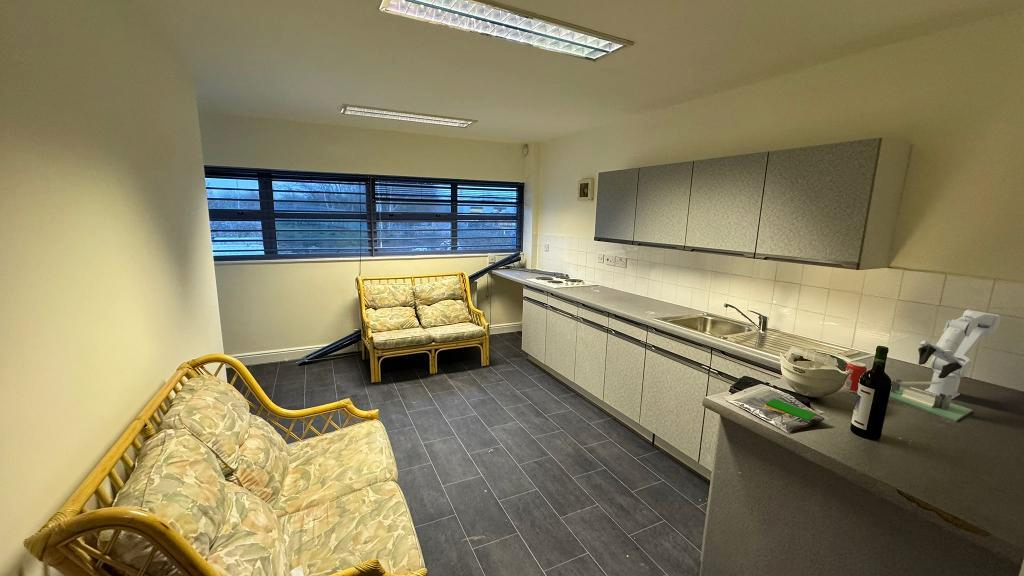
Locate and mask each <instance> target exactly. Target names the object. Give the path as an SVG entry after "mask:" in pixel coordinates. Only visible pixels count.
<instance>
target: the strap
mask: <svg viewBox="0 0 1024 576" xmlns="http://www.w3.org/2000/svg"><path fill="white" fill-rule="evenodd" d="M944 383H945V382H931V381H902V382H898V383H897V385H901V386H902V385H903V386H905V385H915V386H916V385H931V384H944Z"/></svg>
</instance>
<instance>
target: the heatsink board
mask: <svg viewBox="0 0 1024 576" xmlns="http://www.w3.org/2000/svg"><path fill="white" fill-rule="evenodd" d="M898 382H903V380H902V379H900V378H896V380H892V381H891V384H892V389H891V394H890V398H889V399H890V400H894V401H896V402H899V403H901V404H904V405H907V406H910V407H913V408H916V409H919V410H921V411H924V412H927V413H930V412H931V413H930V414H932V415H935V414H936V415H935V416H938V415H939V417H941V418H944V419H947V420H950V421H952V420H953V422H958V421H959V420H960V419H962V418H964V417H965V416H967V415H969V414H970V413H971V412H972V411H973V409H971V408H967V407H965V406H962V405H960V404H959V405H958V404H955V403H953V402H951V401H952V400H953V399H952V395H948V396H946V395H945V394H942V393H940V395H936V394H933V393H930V392H927V391H925V390H922V389H919V388H915V387H912V386H910V387H908V388H906V387H905V386H904V387H903V386H902V385H897V383H898Z"/></svg>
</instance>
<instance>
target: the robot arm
mask: <svg viewBox="0 0 1024 576" xmlns="http://www.w3.org/2000/svg"><path fill="white" fill-rule="evenodd" d="M1001 319H1002V315H1000V314H995V313H989V312H984V311H977V310H972V309H966V310H965V311H964V312H963V314H962V316H961V317H959V318H957V319H949V320H947V322H946V323H945V326H944V328H943V330H942V334H941V336H940V338H939V340H938V341H937V342H936V344H933V343H931V342H930V341H928V340H922V341H921V342H919V346H920V347H919V348H918V349H917V350H918V354H919V355H918V356H919V358H918V365H919V366H921V365H926V364H927V362H928V360H929V359H930V358H931V356H933V357H932V358H931V360H930V363H929V366H930V368H931V369H932V371H933V375H932V378H931V381H930V382H945V383H944V384H929V385H930V386H929V387H928V388H926V389H924V391H925V392H928V393H931V394H935V395H938V396H939V395H940V393H942V394H945V395H946V396H948V395H952V399H951V400H953V399H955V398H957V397H958V396H960V392H958V389H959V386H960V383H961V378H963V377H965V376H966V375H967V374H968V372H969V370H970V368H971V365H972V361H971V359H970V358H969V357H968V355H969V354H970V353H971V352H972V351H973V349H974V348H975V347H976V345H977V344H978V343H979V342H980V341H981V340H982V339H983V338H984V337H986V336H987V337H988V336H992V335H993V334H994V333H995V332H996V330H997V329H998V328H999V326H1000V323H1001Z"/></svg>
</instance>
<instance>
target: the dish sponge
mask: <svg viewBox="0 0 1024 576" xmlns="http://www.w3.org/2000/svg"><path fill="white" fill-rule="evenodd" d="M765 407H767V408H770V409H773V410H775V411H779V412H782V413H785V414H789V415H794V416H796V417H799V418H802V419H805V420H807V421H809V420H810V419H811V418H812V417H814V416H815V417H816V414H815V413H813V412H810V411H808V410H806V409H803V408H800V407H797V406H795V405H793V404H790V403H787V402H785V401H782V400H779V399H777V398H772V399H770V400H768V401H767V402H765V405H764V408H765Z"/></svg>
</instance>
